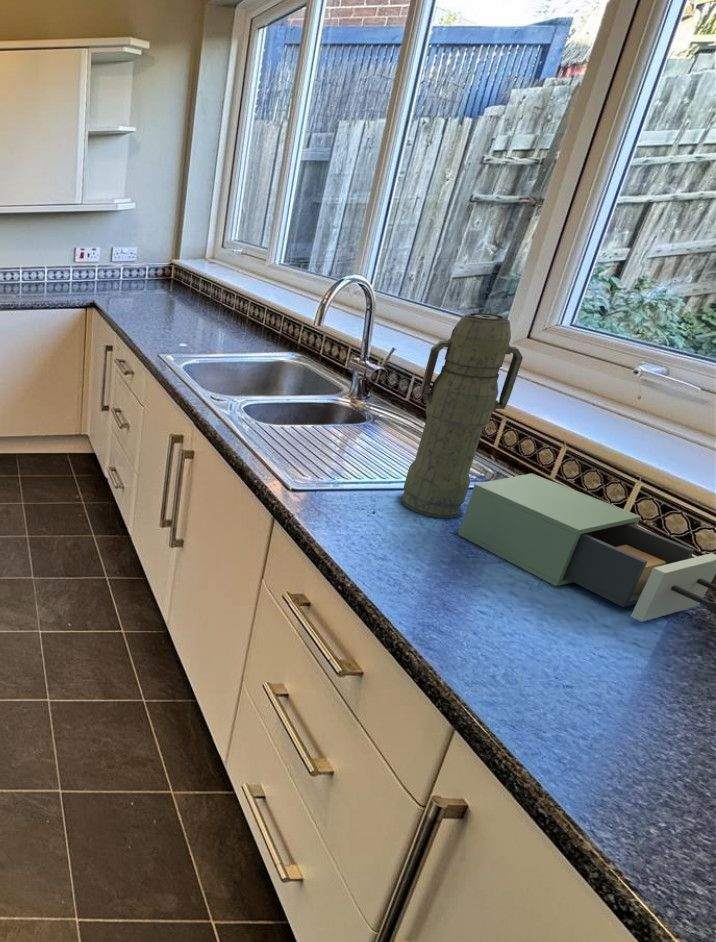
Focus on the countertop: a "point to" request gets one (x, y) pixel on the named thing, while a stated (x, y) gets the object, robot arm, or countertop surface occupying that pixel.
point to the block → (651, 564)
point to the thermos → (459, 411)
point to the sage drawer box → (536, 522)
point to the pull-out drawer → (621, 571)
